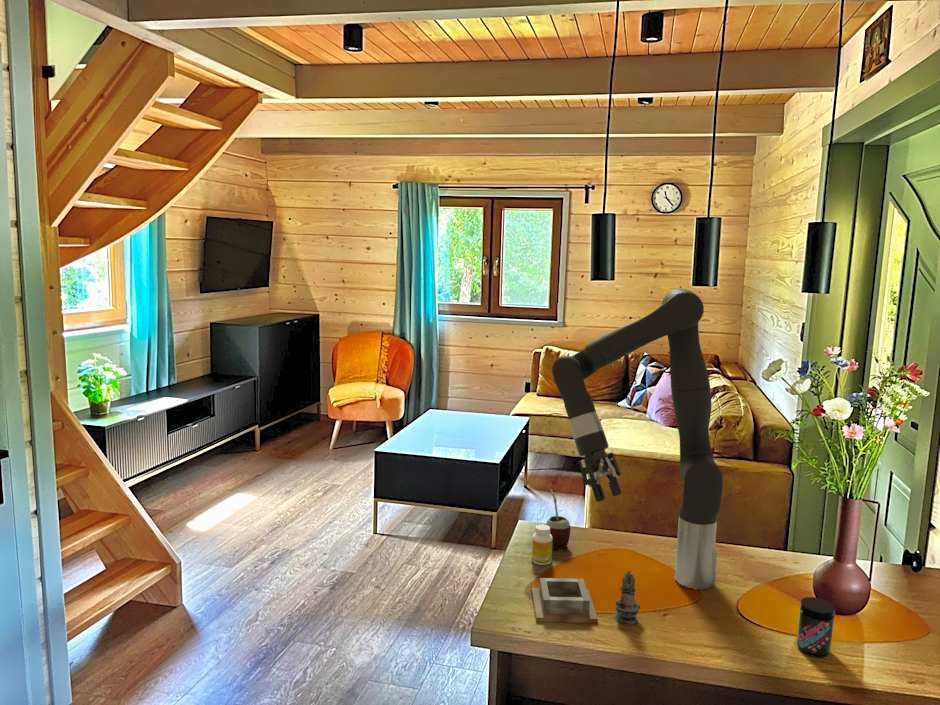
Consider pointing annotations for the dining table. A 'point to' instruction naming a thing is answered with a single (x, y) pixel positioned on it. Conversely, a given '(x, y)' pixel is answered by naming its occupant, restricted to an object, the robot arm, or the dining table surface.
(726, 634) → the dining table surface
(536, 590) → the block
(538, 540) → the supplement bottle
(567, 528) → the mate gourd
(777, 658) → the dining table surface
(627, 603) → the grey tall ringed piece
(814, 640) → the supplement container
